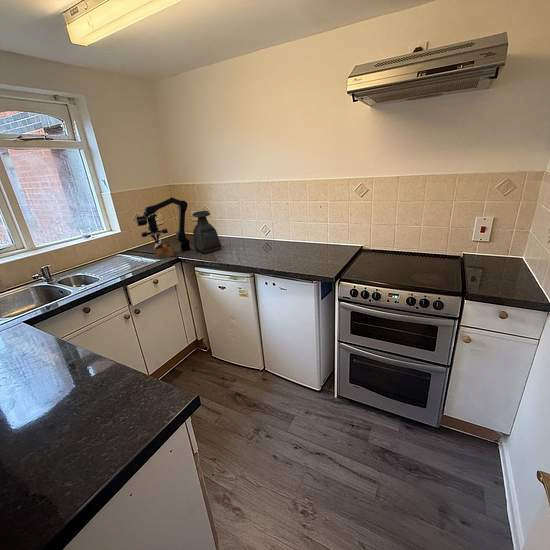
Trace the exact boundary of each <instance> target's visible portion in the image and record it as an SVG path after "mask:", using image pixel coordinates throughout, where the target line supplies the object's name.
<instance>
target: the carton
mask: <svg viewBox="0 0 550 550" xmlns="http://www.w3.org/2000/svg"><path fill="white" fill-rule="evenodd" d="M163 245H167V247H166V248H163ZM154 252H155V257H156V260H160V259H164V258H172V257H175V256H176V254H175V248H174V245H173V242H170V243H164V244H160V245H159V246H158V247H156V248H155V249H154Z"/></svg>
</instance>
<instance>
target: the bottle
mask: <svg viewBox="0 0 550 550" xmlns="http://www.w3.org/2000/svg"><path fill="white" fill-rule="evenodd" d="M191 215H192V217H194V218H197V223H196V224H195V225H194V228H193V230H192V236H193V248H194V249H195V250H196V251H197V252H198V253H199V252H200V253H201V254H203V255H204V254H208V253H213V252H215V251H216V252H217V251H219V250H220V249H221V247H222V244H221V240H220V238H219V234H218V232H217V229H216V228H215V227H214V226H213V225H212V224H211V223H210V222H209V220H208V219H207V217H208V216H211V212H209V211H208V210H199V211H195V212H193V213H192V214H191Z"/></svg>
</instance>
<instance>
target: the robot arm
mask: <svg viewBox="0 0 550 550" xmlns="http://www.w3.org/2000/svg"><path fill="white" fill-rule="evenodd" d="M171 204H174V205H177V209H178V212H179V213H178V230H177V231H176V232H175V238H176V240H177V241H178V242H179V243H180V250H181V251H182V252H187V251H188V252H189V251H191V250H192V249H191V247H190V239H188V238H187V235H186V232H185V225H186V224H185V223H186V212H187V209H188V206H189V205H188V202H187V201H186V200H184V199H183V200H182V199H178V198H175V197H171V196H170V197H169V198H166V199H165V200H162V201H160V202H158V203H156V204H152V205H148V206H145V207H144V209H143V211H144V212H143V215H140V216H135V220H136V225H137V227H142V226H146V225H148V226H147V229H148V231H149V232H148V231H142V232H141V238H147V236H150V238H153V240H154V241H155V244H158V242H159V241H160V236H161V234H168V233H169V230H168V228H167V227H166V228H162V229H159V226H158V223H157V217H158V214H156V213H157V212H158V211H159V210H160V209H163V208H165V207H167V206H169V205H171Z"/></svg>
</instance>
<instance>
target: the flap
mask: <svg viewBox="0 0 550 550" xmlns="http://www.w3.org/2000/svg"><path fill="white" fill-rule="evenodd" d="M159 245H162V239H159V241H158V244H157V243H155V244H154V247H153V250H155V248H156V247H158V246H159Z"/></svg>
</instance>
